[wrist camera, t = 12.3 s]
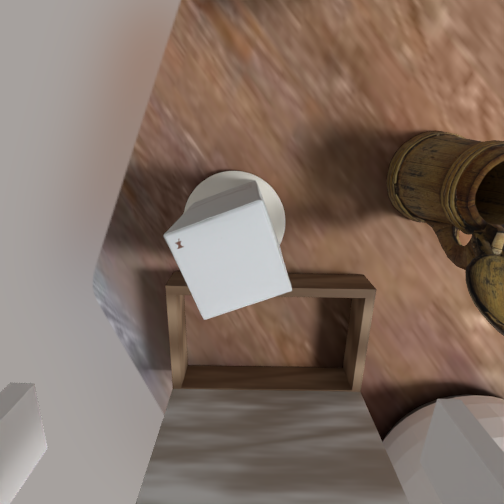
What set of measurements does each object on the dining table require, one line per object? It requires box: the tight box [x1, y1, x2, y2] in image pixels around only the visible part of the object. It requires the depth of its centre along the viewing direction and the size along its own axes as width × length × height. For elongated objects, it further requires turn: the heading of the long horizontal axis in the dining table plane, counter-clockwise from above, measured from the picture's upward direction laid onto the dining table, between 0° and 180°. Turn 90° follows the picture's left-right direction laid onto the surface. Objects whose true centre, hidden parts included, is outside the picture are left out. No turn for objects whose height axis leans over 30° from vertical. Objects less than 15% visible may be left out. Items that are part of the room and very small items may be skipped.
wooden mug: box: [387, 131, 504, 335], centre depth 26 cm, size 9×14×18 cm, turn 169°
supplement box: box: [163, 180, 292, 320], centre depth 28 cm, size 7×7×13 cm
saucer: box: [184, 171, 285, 245], centre depth 35 cm, size 11×11×1 cm
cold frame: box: [136, 271, 409, 504], centre depth 30 cm, size 14×22×19 cm, turn 89°
